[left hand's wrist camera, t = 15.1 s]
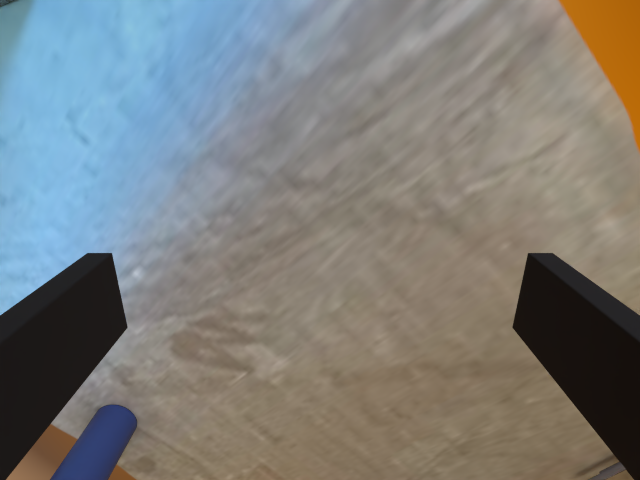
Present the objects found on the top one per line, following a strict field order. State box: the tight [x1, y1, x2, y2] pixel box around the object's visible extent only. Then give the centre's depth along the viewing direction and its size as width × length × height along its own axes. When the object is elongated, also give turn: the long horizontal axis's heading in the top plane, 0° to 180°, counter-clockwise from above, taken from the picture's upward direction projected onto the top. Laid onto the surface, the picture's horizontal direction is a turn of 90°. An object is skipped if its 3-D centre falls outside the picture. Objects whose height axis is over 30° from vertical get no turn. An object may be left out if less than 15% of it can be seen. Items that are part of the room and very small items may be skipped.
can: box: [50, 405, 137, 480], centre depth 48 cm, size 6×6×12 cm
